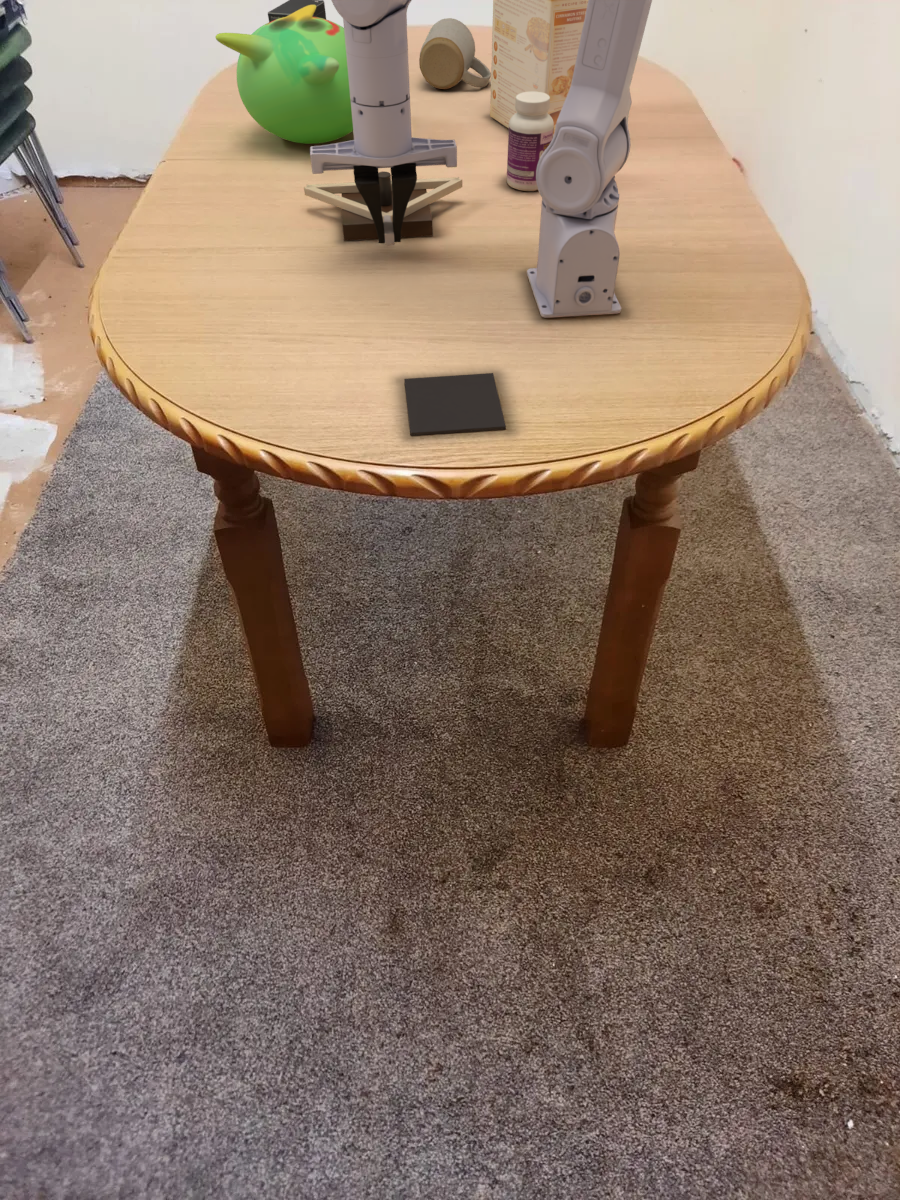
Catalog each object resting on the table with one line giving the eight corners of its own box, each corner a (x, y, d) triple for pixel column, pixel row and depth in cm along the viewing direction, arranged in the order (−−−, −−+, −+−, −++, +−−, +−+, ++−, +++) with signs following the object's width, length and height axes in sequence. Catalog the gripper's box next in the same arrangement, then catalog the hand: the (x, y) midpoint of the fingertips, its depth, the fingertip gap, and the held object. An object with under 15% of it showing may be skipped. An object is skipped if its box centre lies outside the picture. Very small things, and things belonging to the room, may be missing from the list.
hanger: (302, 249, 87) (300, 238, 86) (304, 192, 97) (303, 181, 96) (476, 240, 88) (476, 228, 87) (461, 184, 98) (461, 173, 97)
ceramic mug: (417, 90, 126) (416, 31, 120) (427, 73, 131) (427, 15, 125) (486, 95, 124) (488, 35, 119) (493, 77, 130) (496, 19, 124)
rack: (432, 236, 93) (431, 190, 89) (344, 240, 92) (339, 194, 89) (425, 199, 100) (424, 154, 96) (342, 203, 99) (338, 159, 95)
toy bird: (393, 124, 116) (386, -2, 105) (352, 170, 106) (339, 35, 95) (275, 113, 120) (257, -10, 109) (224, 156, 109) (198, 25, 98)
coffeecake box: (585, 143, 111) (604, -37, 96) (539, 152, 109) (552, -30, 94) (531, 108, 120) (541, -61, 105) (487, 116, 118) (492, -55, 103)
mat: (505, 429, 69) (505, 426, 69) (410, 435, 68) (410, 432, 68) (492, 375, 74) (493, 372, 74) (404, 381, 74) (404, 378, 73)
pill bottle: (546, 193, 100) (553, 105, 93) (503, 190, 101) (506, 102, 94) (551, 176, 104) (558, 90, 96) (510, 173, 104) (513, 87, 97)
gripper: (451, 80, 82) (452, 218, 92) (304, 86, 81) (321, 225, 91) (459, 104, 77) (459, 247, 87) (303, 111, 76) (321, 255, 86)
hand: (389, 238), depth 89 cm, fingers closed on hanger, 1 cm apart
